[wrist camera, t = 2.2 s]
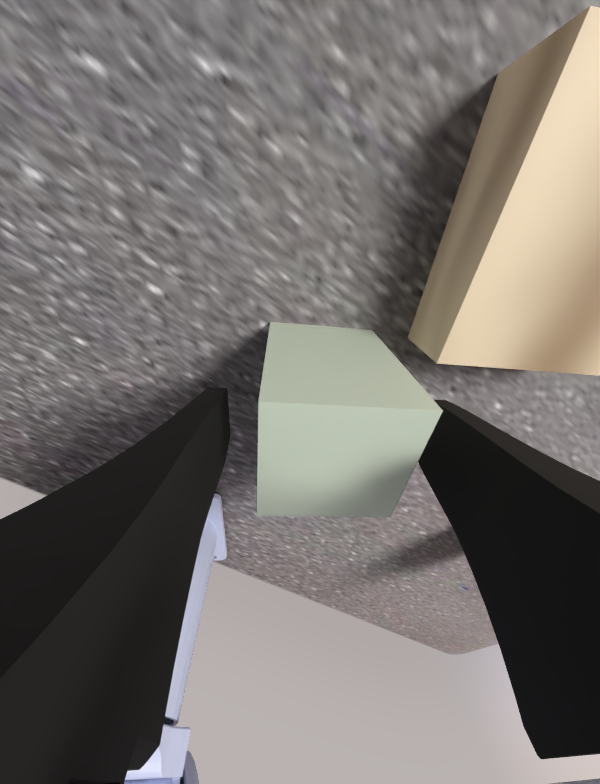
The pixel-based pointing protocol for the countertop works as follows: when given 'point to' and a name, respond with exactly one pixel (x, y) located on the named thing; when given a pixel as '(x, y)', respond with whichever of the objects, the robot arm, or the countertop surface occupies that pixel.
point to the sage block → (337, 423)
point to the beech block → (526, 221)
